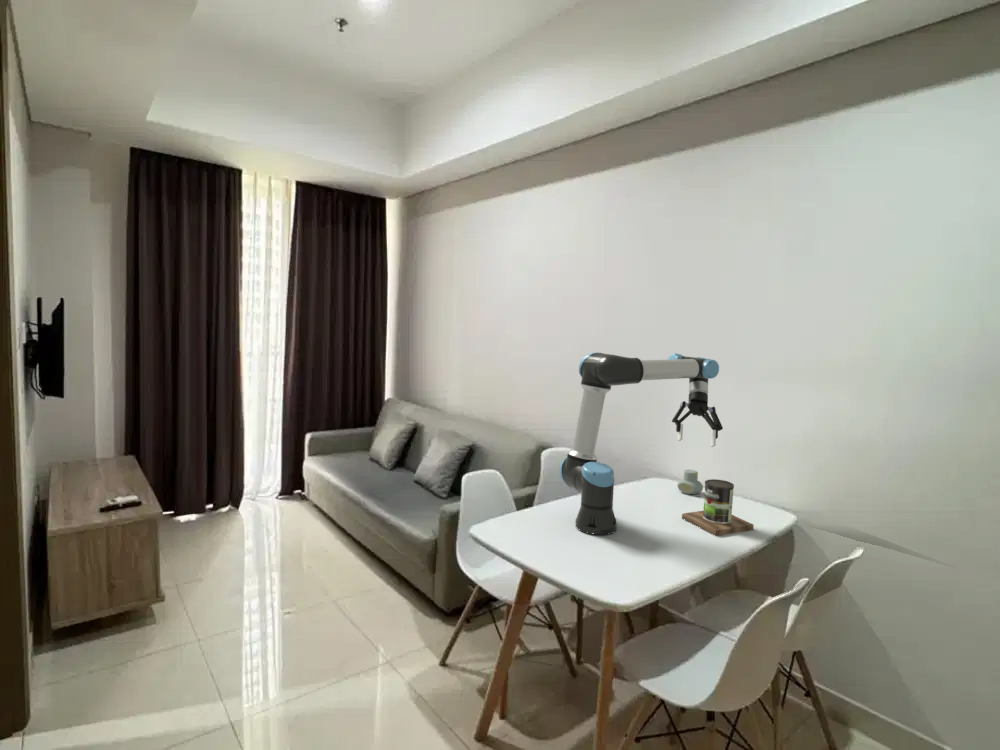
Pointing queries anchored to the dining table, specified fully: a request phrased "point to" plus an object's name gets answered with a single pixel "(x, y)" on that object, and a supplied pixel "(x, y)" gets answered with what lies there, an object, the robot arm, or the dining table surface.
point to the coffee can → (718, 501)
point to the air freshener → (690, 483)
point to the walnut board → (715, 528)
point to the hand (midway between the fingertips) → (696, 443)
